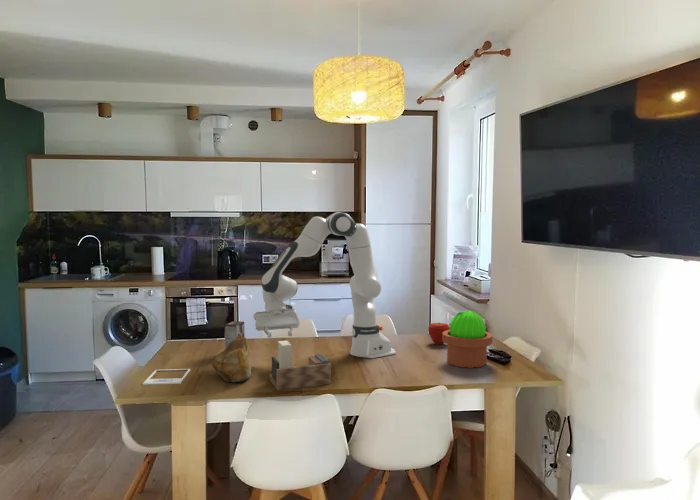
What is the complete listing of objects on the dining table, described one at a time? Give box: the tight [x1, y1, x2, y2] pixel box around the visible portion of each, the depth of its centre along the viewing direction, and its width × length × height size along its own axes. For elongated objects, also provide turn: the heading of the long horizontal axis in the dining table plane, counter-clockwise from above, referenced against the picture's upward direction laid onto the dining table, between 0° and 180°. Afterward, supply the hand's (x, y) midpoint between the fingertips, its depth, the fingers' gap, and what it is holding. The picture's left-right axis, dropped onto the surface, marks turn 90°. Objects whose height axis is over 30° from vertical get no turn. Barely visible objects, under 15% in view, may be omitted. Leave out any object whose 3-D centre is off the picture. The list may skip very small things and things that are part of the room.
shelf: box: [268, 353, 332, 391], centre depth 203 cm, size 22×14×10 cm, turn 111°
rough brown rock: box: [210, 336, 252, 383], centre depth 209 cm, size 23×17×15 cm
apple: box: [427, 321, 450, 345], centre depth 264 cm, size 11×11×12 cm
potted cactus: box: [442, 310, 493, 369], centre depth 229 cm, size 22×22×25 cm
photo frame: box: [142, 368, 191, 386], centre depth 208 cm, size 15×1×18 cm
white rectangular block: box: [277, 340, 293, 369], centre depth 218 cm, size 4×8×12 cm, turn 21°
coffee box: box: [224, 320, 245, 350], centre depth 239 cm, size 9×6×16 cm
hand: (280, 336), depth 225 cm, fingers open, 8 cm apart
